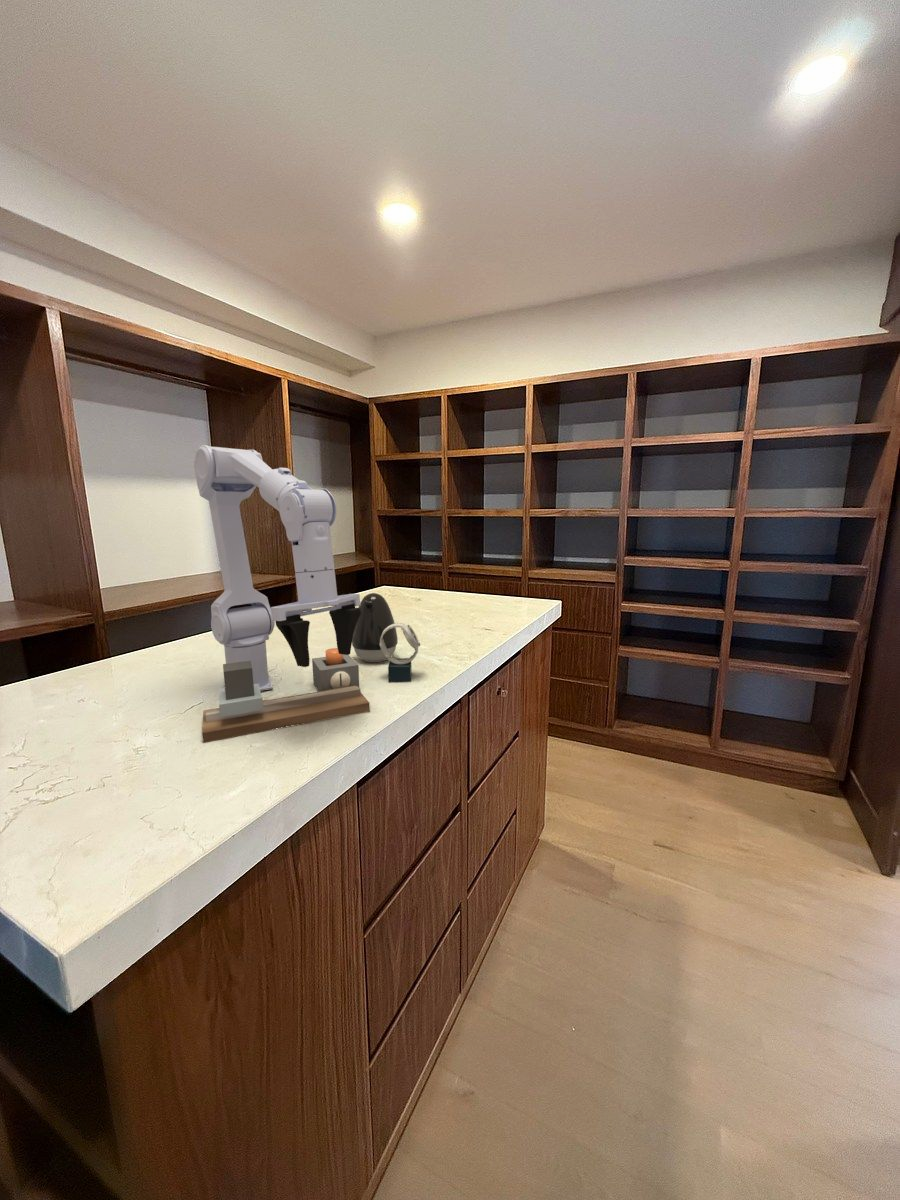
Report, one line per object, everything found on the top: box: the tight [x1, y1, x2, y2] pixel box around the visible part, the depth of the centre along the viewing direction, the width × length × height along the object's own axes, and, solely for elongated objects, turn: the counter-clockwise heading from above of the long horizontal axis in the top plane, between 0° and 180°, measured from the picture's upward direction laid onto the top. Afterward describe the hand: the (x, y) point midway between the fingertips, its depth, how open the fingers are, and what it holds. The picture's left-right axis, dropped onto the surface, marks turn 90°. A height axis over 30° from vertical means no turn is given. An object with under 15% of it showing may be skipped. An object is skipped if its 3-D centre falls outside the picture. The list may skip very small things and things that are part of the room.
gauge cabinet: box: [311, 654, 360, 692], centre depth 91 cm, size 8×7×5 cm
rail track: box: [201, 686, 371, 744], centre depth 79 cm, size 9×25×3 cm, turn 116°
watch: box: [380, 622, 421, 683], centre depth 96 cm, size 6×8×11 cm
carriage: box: [218, 661, 264, 717], centre depth 75 cm, size 7×6×6 cm
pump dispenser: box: [351, 592, 399, 663], centre depth 108 cm, size 10×10×15 cm
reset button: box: [324, 647, 343, 665], centre depth 91 cm, size 3×3×2 cm
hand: (324, 659), depth 73 cm, fingers open, 7 cm apart
